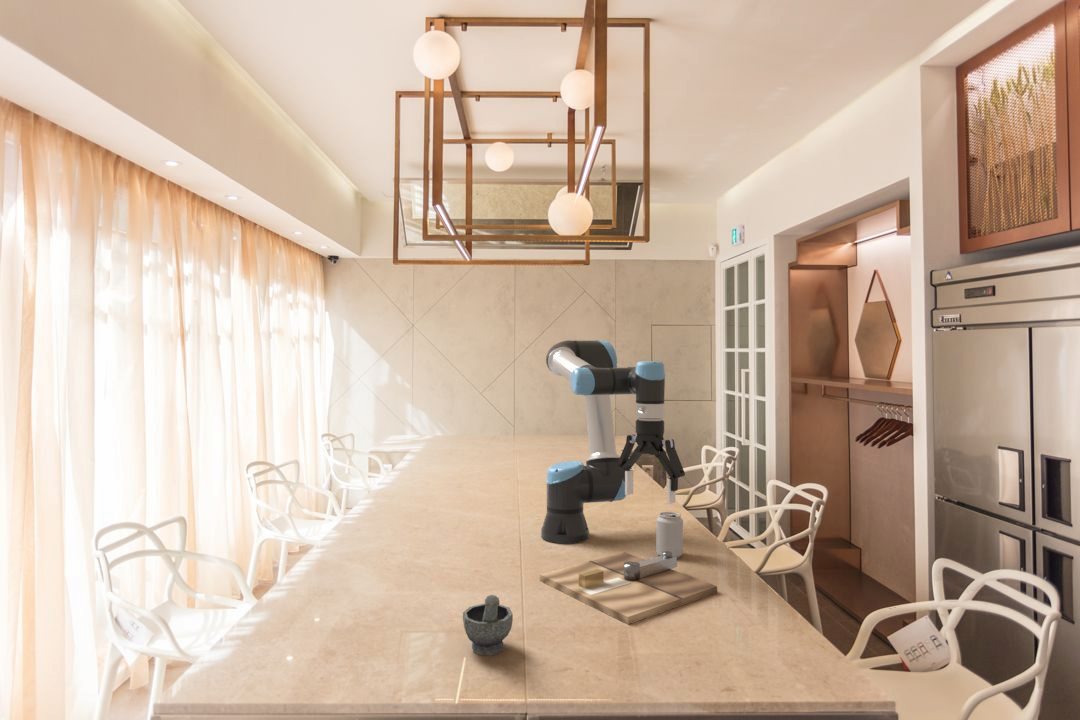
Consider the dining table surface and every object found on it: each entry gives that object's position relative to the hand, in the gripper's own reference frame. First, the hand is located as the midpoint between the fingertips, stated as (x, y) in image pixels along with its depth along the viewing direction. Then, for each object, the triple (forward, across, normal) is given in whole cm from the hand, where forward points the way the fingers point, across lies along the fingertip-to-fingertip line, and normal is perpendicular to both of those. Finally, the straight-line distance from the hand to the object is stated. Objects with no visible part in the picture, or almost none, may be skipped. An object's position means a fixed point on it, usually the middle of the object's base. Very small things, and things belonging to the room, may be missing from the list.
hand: (649, 498), depth 165 cm
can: (+20, -4, +15) cm, 25 cm away
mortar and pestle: (+19, +4, -59) cm, 62 cm away
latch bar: (+18, +4, -5) cm, 19 cm away
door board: (+19, +3, -13) cm, 24 cm away
